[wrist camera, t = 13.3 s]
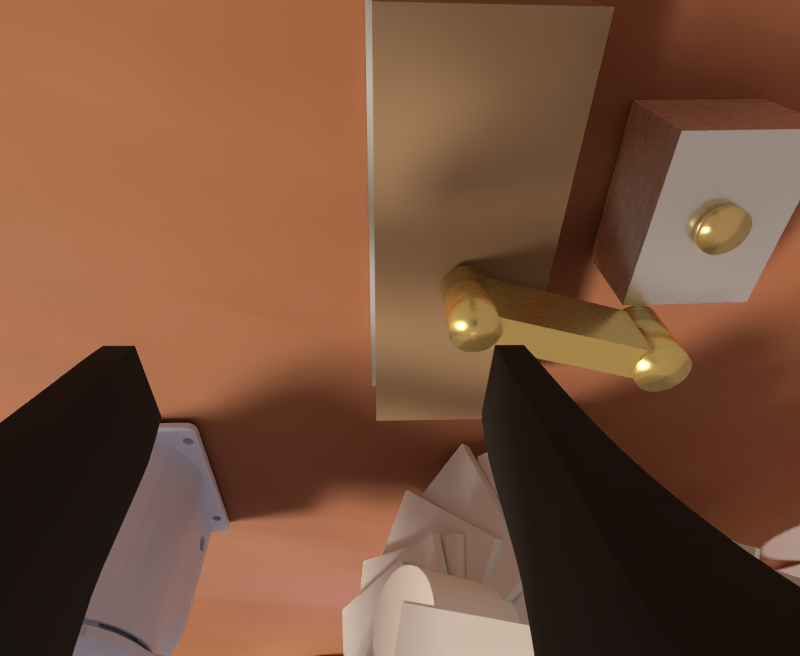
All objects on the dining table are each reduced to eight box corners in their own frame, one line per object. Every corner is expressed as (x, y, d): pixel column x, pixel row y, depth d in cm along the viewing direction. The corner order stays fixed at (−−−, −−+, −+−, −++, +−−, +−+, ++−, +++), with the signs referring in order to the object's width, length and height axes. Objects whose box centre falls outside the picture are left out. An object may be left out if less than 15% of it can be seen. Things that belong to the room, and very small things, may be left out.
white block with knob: (696, 253, 21) (753, 308, 18) (589, 255, 20) (627, 311, 17) (761, 97, 17) (847, 132, 14) (630, 98, 17) (688, 135, 14)
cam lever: (667, 311, 18) (703, 357, 16) (638, 348, 19) (670, 395, 17) (450, 258, 16) (461, 302, 14) (432, 302, 17) (440, 349, 15)
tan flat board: (504, 375, 24) (518, 422, 22) (371, 377, 24) (371, 425, 21) (585, -17, 14) (626, -8, 12) (364, -22, 14) (363, -14, 12)
